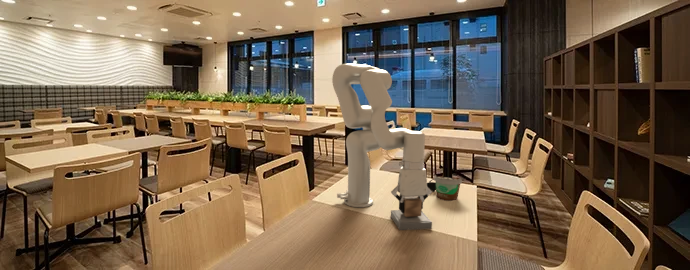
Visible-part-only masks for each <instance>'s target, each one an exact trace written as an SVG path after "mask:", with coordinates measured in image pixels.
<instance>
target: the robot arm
mask: <svg viewBox="0 0 690 270" xmlns="http://www.w3.org/2000/svg"><path fill="white" fill-rule="evenodd" d="M331 80H332V82H331V83H332V86H333V90H334V92H335V96H336V97H337V99H338V104H339V108H340V112H341V115H342V116H341V117H342V119H343V122H344V124H345V127H347V128H349V129H361V128H362V130H356V131H352V132H350V133H349V134H348V135H347V137H346V140H345V145H346V147H345V148H346V151H347V152H346V153H347V190H346V191H345V192H344V193H341V192H340V193H339V192H338V193H336V198H337V199H340V200H343V203H344V204H345V205H346V206H349V207H352V208H366V207H370V206H372V205H373V203H374V199H373V198H372V197H370V194H371V193H370V191H371V189H370V188H371V159H370V157H369V155H368V152H373V151H377V150H379V149H383V150H385V151H391V150H396V149H402V148H403V149H402V150H403V153H402V159H401V161H399V162H398V165H399V166H401V167H400V170H399V174H398V181H397V185H396V186H395V187H394V188H393V189H392V190H391V191H390V193H391V194H392V196H393V197H394V198H396V199H397V200H398V210H400V211H401V212H402V213H404V205H405V203H404V199H405V197H408V196H418V197H419V198H420V199H421V200H422V208H421V212H423V209H424V202H425V200H426V199H428V197H429V196H430V195H431V194H432V193H433V192H432V191H431V190H430V189H429V188H428V187H427V183H428V179H427V177H428V176H427V170H426V168H425V167H424V165H425V164H424V163H425V161H424V160H425V147H426V146H425V143H426V135H425V133H424V132H423V131H421V130H420V131H419V130H410V129H407V128H405V127H398V128H389V125H388V124H387V121H386V117H385V114H386V111H387V110H388V109H389V108H391V106H392V103H393V100H392V98H391V95H390V94H389V92H388V90H389V89H390V88H391V87H392V83H393V80H392V76H391V74H390V73H389V72H388V71H387V70H385V69H380V68H379V67H375V66H371V65H368V64H360V63H342V64H340V65H337V67H335V69H334V70H333V74H332V77H331ZM352 85H360V87H361V88H362V91H363V93H364V96H365V97H366V100H367V102H368V105H361V103H360V100H359V95H358V94H357V92H356V91H355V89H354V88H353V87H352ZM397 193H399V195H398V194H397Z"/></svg>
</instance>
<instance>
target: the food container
mask: <svg viewBox="0 0 690 270" xmlns="http://www.w3.org/2000/svg"><path fill="white" fill-rule="evenodd" d="M433 179H434V180H435V181H434V180H433V181H434V182H435V183H436V190H435V197H436V198H437V199H438V200H441V201H446V202H454V201H456V200H458V198H459V192H460V187H461V184H462V183H463V181H462V178H458V179H456V178H452V177H446V176H442V177H441V176H438V175H436V174H435V175H434V178H433Z"/></svg>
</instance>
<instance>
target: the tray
mask: <svg viewBox="0 0 690 270" xmlns="http://www.w3.org/2000/svg"><path fill="white" fill-rule="evenodd" d="M390 218H391V219H392V221H393V222H394V224H395V226H396V227H397V229H398V230H399V231H409V230H410V231H412V230H428V229H429V230H431V229H432V227H433V221H432V220H431V219H430V218H429V217H428V216H427V215H426V214H425V213H424V212H423V211H422V212H421V216H409V217H405V216H404V214H403V213H402V212H401V211H400V210H399V209H395V210H390Z"/></svg>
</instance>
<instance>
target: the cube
mask: <svg viewBox="0 0 690 270" xmlns="http://www.w3.org/2000/svg"><path fill="white" fill-rule="evenodd" d="M404 203H405V205H404V213H403V214H404V216H405V217H409V216H421V208H422V200H421V199H420V198H419V197H418V196H408V197H405V199H404Z"/></svg>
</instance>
